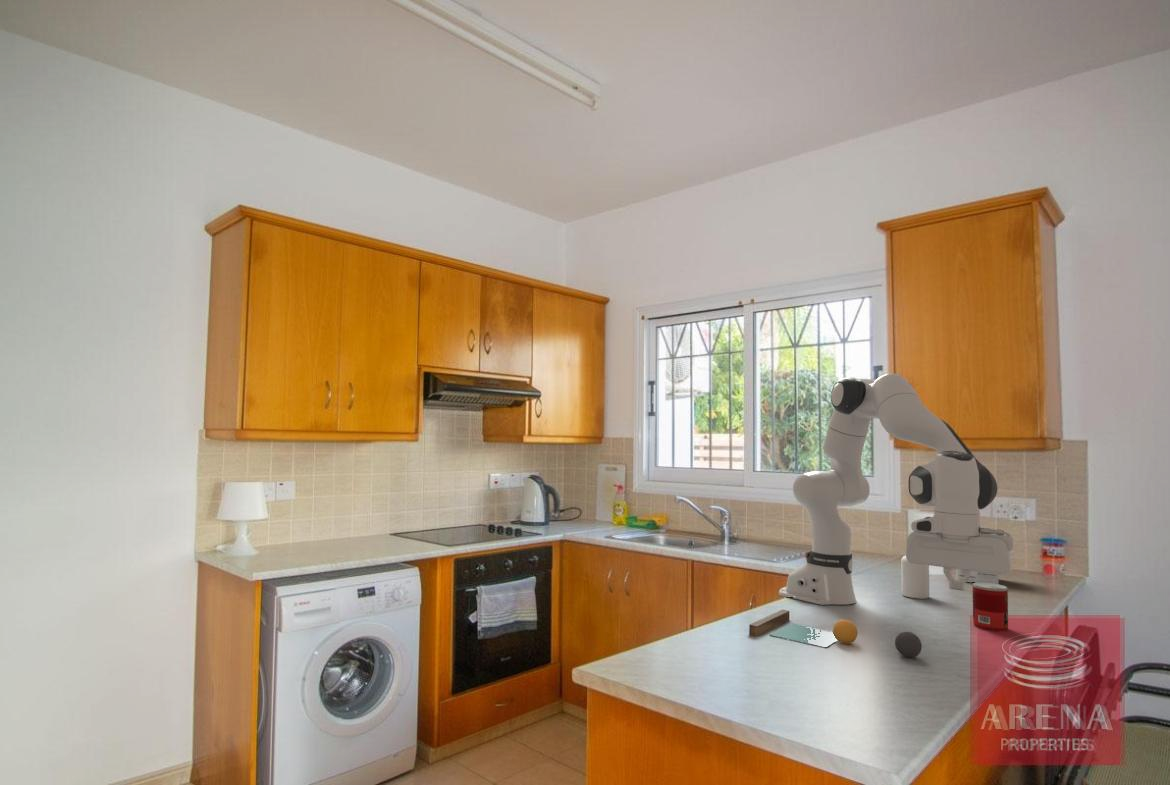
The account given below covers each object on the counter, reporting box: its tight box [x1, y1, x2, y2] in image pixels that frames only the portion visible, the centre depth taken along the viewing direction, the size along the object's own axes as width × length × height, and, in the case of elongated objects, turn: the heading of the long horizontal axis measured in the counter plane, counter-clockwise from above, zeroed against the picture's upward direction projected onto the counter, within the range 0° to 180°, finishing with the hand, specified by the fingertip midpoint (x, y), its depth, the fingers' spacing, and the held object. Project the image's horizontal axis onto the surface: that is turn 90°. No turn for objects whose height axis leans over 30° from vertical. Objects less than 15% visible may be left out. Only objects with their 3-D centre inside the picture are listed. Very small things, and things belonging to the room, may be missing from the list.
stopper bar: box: [748, 609, 790, 638], centre depth 172 cm, size 2×20×2 cm, turn 140°
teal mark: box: [769, 623, 821, 644], centre depth 166 cm, size 14×14×1 cm
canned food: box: [972, 582, 1009, 632], centre depth 177 cm, size 8×8×11 cm
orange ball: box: [832, 619, 858, 645], centre depth 160 cm, size 6×6×6 cm
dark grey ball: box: [894, 631, 923, 658], centre depth 151 cm, size 6×6×6 cm
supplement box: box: [955, 569, 1000, 585], centre depth 239 cm, size 13×13×18 cm
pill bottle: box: [900, 555, 930, 600], centre depth 211 cm, size 8×8×15 cm
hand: (957, 589), depth 146 cm, fingers closed
